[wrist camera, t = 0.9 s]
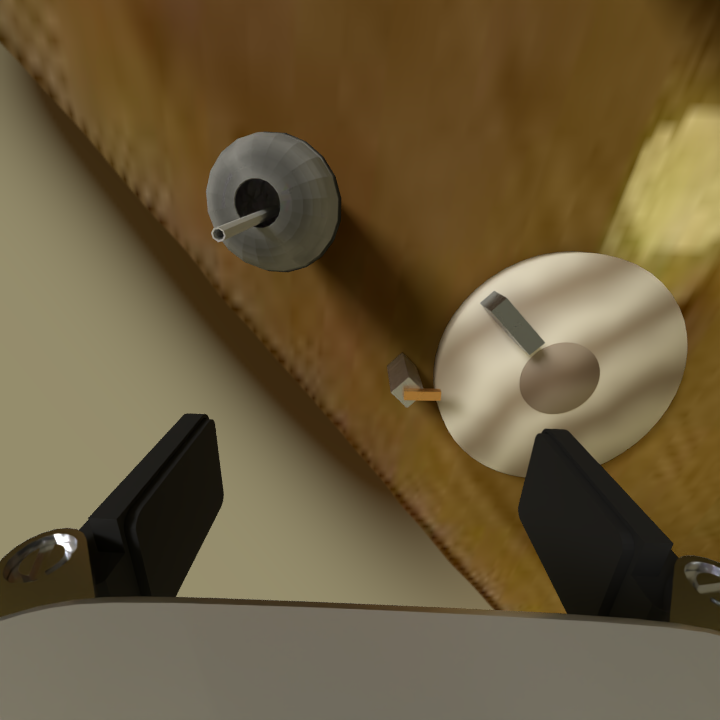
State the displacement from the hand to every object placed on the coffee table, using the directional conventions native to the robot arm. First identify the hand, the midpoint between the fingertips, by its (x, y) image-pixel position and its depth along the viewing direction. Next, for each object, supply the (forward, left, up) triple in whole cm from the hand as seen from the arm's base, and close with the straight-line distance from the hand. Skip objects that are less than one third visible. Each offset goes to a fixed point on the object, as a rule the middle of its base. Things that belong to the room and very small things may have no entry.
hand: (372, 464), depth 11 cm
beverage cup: (-1, -9, -25) cm, 27 cm away
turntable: (-7, +17, -25) cm, 31 cm away
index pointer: (+3, +7, -25) cm, 26 cm away
